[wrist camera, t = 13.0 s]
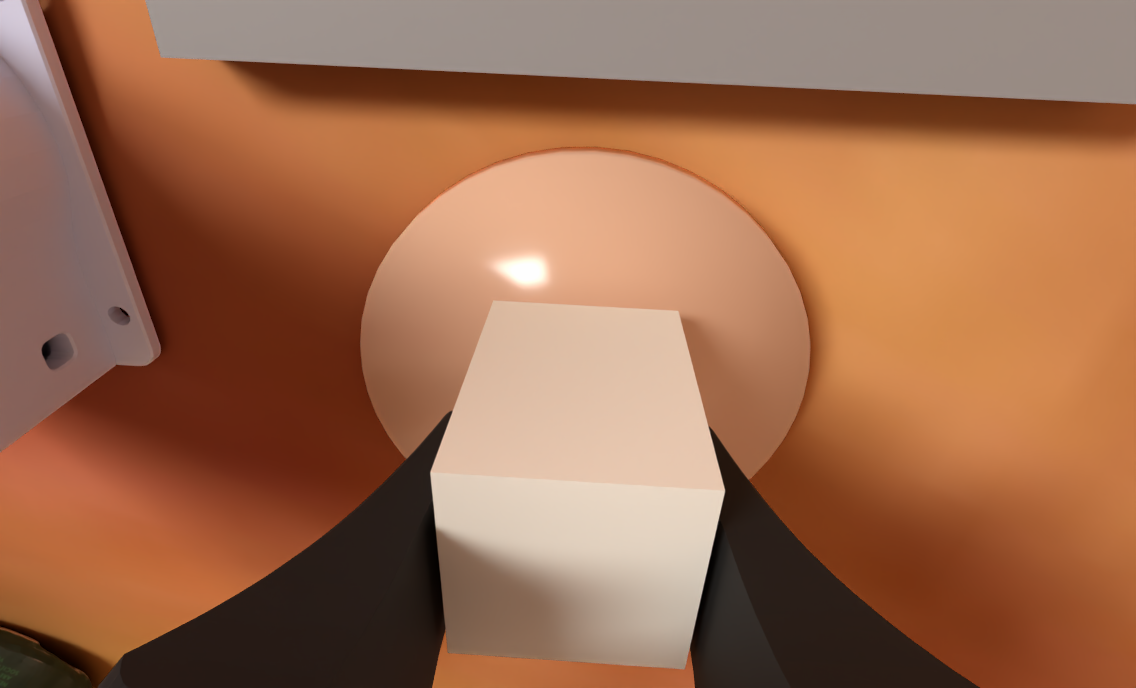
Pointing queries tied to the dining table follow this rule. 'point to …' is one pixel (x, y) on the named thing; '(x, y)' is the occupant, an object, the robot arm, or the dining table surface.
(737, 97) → the dining table surface
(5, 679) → the coffee jar
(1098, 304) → the dining table surface
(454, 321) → the terracotta dish
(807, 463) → the dining table surface
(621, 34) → the puzzle board
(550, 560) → the cream block
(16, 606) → the dining table surface
